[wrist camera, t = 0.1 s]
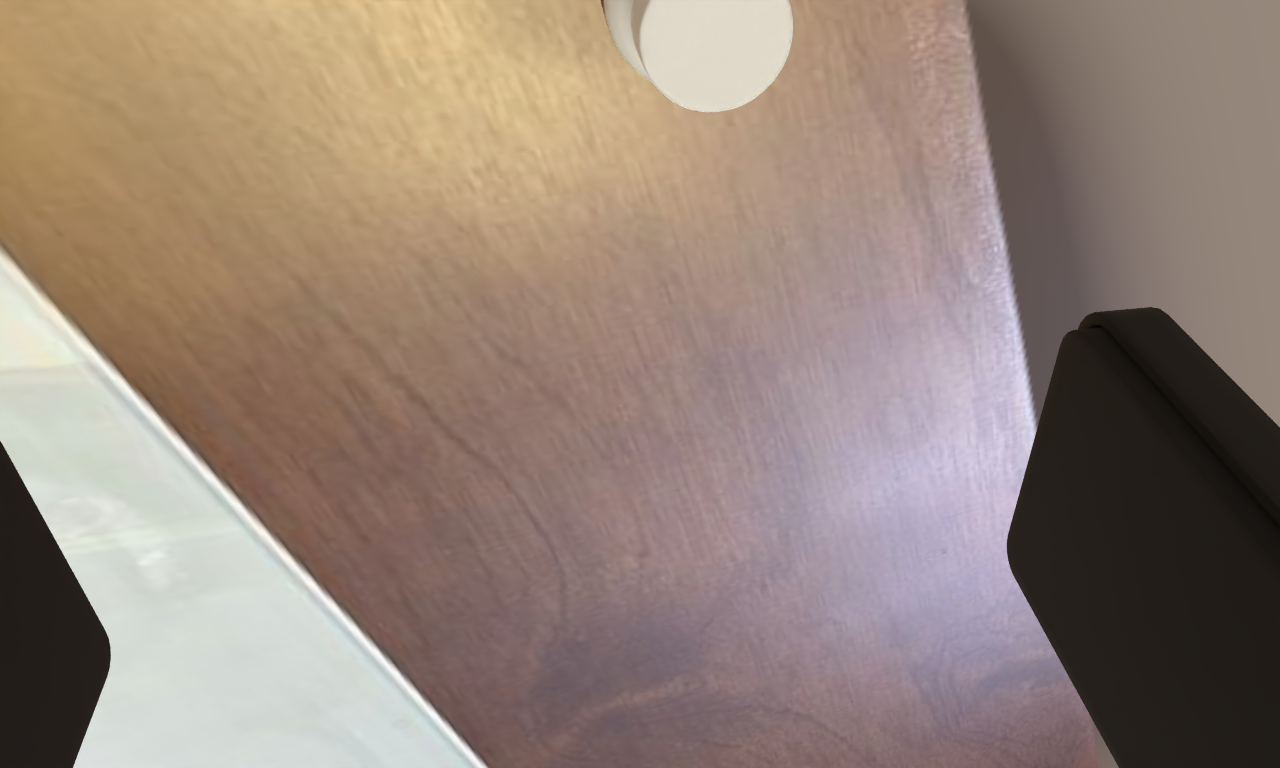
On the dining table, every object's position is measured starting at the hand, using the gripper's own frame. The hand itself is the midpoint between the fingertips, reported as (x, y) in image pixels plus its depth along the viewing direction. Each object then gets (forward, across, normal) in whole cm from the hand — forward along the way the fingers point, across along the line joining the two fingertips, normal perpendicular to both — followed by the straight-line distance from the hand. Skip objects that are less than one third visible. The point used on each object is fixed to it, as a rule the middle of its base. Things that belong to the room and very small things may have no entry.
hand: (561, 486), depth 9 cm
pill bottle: (+23, -4, +1) cm, 23 cm away
